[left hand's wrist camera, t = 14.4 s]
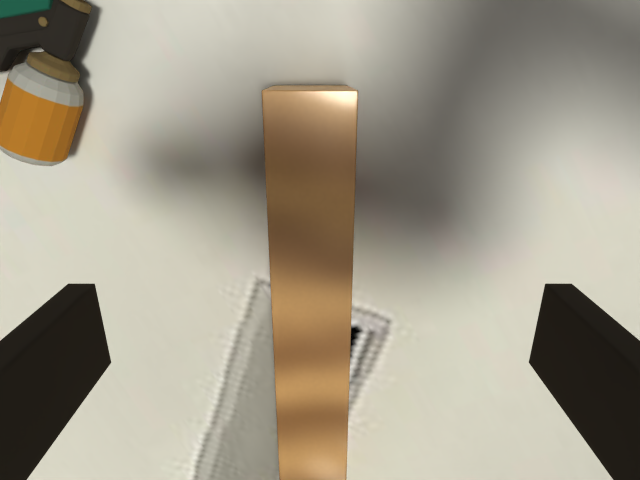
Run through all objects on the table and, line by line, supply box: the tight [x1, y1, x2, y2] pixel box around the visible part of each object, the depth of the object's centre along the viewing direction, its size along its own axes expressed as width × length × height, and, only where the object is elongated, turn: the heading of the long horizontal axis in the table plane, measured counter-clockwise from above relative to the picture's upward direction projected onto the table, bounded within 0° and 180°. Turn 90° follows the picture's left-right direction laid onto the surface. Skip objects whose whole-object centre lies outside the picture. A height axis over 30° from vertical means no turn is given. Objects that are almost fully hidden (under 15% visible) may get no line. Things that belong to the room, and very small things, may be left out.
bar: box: [262, 85, 358, 480], centre depth 37 cm, size 58×5×7 cm, turn 0°
